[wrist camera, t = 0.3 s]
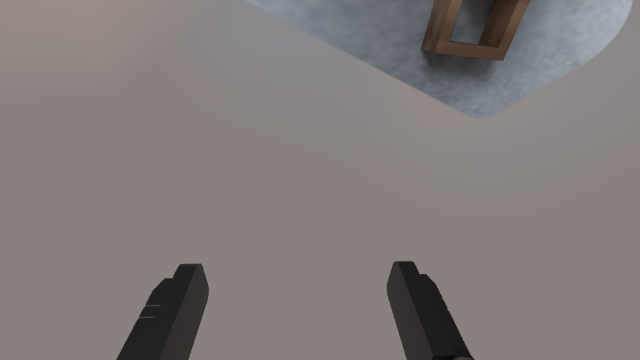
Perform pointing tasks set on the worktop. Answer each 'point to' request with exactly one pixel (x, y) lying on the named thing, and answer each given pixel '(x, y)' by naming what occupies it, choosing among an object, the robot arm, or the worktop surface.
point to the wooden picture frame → (494, 37)
